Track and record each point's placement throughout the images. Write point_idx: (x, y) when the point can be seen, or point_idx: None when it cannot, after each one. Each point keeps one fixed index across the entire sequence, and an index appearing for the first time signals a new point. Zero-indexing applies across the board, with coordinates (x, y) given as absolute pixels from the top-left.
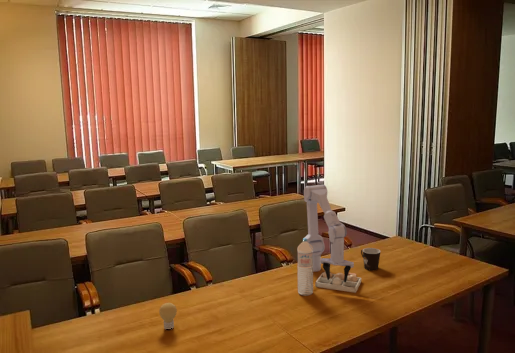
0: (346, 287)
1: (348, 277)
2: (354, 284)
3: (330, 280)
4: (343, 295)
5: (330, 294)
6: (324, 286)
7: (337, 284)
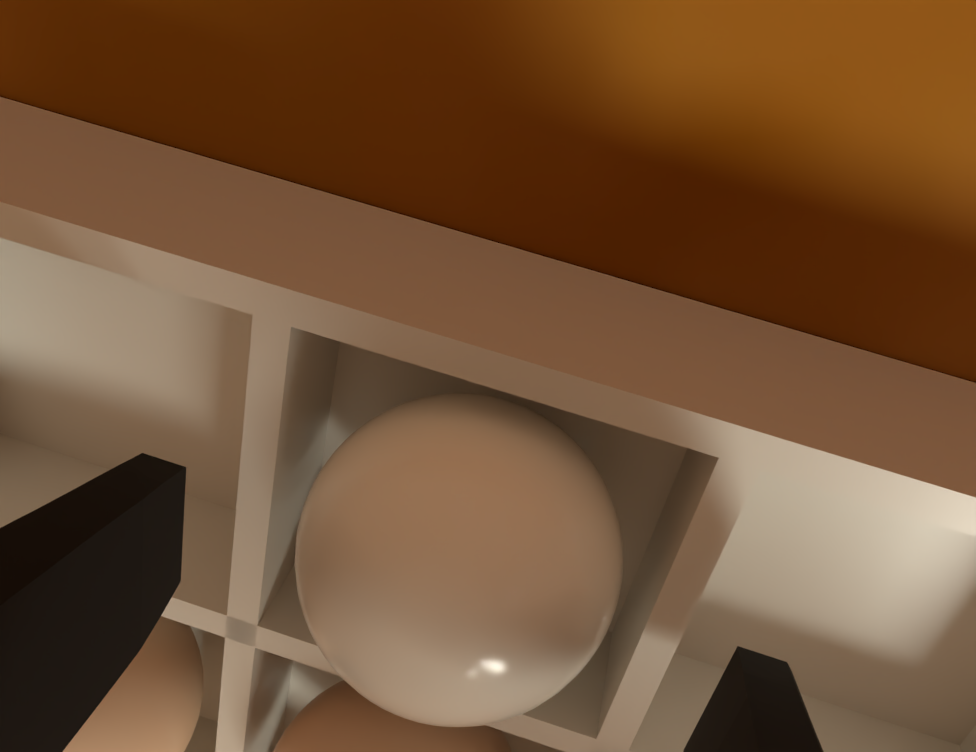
0: (128, 227)
1: (140, 745)
2: (20, 497)
3: (662, 723)
4: (293, 4)
5: (717, 34)
6: (904, 419)
7: (434, 414)
